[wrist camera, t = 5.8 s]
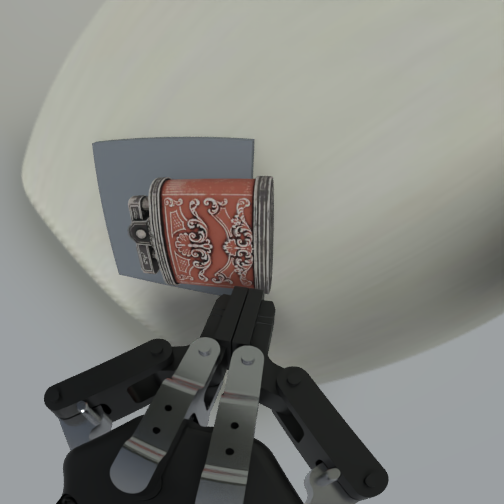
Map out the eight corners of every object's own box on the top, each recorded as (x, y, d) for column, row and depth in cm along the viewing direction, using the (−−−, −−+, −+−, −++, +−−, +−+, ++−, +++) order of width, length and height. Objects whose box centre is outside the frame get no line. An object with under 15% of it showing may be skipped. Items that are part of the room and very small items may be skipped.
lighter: (274, 170, 17) (136, 173, 19) (268, 184, 14) (110, 187, 16) (272, 276, 21) (154, 266, 23) (267, 304, 18) (135, 290, 20)
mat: (254, 139, 17) (252, 140, 16) (248, 295, 24) (247, 300, 23) (96, 141, 19) (92, 143, 18) (122, 270, 26) (119, 274, 25)
